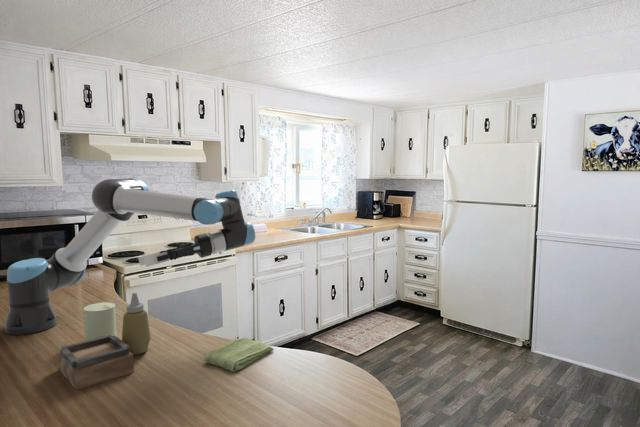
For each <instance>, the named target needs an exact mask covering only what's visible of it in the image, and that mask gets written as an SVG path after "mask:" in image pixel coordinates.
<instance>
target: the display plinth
mask: <svg viewBox="0 0 640 427" xmlns="http://www.w3.org/2000/svg"><path fill="white" fill-rule="evenodd" d="M116 336H117V335H116ZM116 336H111V335H107V336H103V337H100V338H96V339H92V340H88V341H85V340H84V341H81V342H76V343H71V344H68V345H65V346H61V349H60V348H59V351H57V356H58V360H57V361H58V371H60V373H61V374H62V375H63V377H65V379H66V381H68V382H69V383H70V384H71V385H72V387H73V388H74V389H75V391H80V390H83V389H87V388H88V387H91V386H95V385H97V384H101V383H103V382H106V381H107V382H108V381H110V380H113V379H116V378H119V377H123V376H126V375H128V374H132V373H135V369H134V367H135V366H134V363H135V362H134V355H133V354H132V353H131V352H130V351H129V346H128V345H127V344H126V343H124V342H123V341H122V339H120V338H119V337H116Z"/></svg>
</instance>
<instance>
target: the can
mask: <svg viewBox="0 0 640 427" xmlns="http://www.w3.org/2000/svg"><path fill="white" fill-rule="evenodd" d="M116 320H117V319H116V303H113V302H111V301H110V302H109V301H108V302H107V301H106V302H96V303H92V304H88V305H86V306H84V307H83V321H84V338H85V339H84V341H88V340H92V339H96V338H100V337H103V336H107V335H111V336H116V337H117V336H118V335H117V321H116ZM117 338H118V337H117Z"/></svg>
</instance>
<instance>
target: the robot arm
mask: <svg viewBox="0 0 640 427" xmlns="http://www.w3.org/2000/svg"><path fill="white" fill-rule="evenodd" d="M91 200H92V203H93V205H94V207H95V208H96V209H97V211H95V213H94V214H93V215H92V216H91V218H89V220H88V221H87V222H86V223H85V224H84V226H83V227H82V228H81V229H80V230H79V231H78V233H77V234H76V235H75V236H74V237H73V238H72V239H71V241H70V242H69V243H68V244H67V245H66V246H65V247H61V248H58V249H57V250H56V251H55V253H53V254H52V256H51V257H50V258H48V259H45V258H44V257H43V258H42V257H35V258H28V259H22V260H19V261H16V262H14V263H12V264H11V265H9V266H8V268H7V270H6V271H7V272H6V273H7V276H6V281H7V293H8V304H9V305H8V307H9V308H8V309H9V310H8V313H7V315H6V319H5V322H4V325H3V326H4V333H5V334H6V335H13V336H14V335H15V336H16V335H17V336H18V335H19V336H20V335H28V334H34V333H38V332H43V331H46V330H49V329H51V328H53V327H55V326H56V325H57V322H58V321H57V320H58V319H57V316H56V313H55V311H54V309H53V307H52V305H51V303H50V301H51V300H50V292H54V291H57V290H60V289H63V288H66V287H71V286H73V285H75V284H76V283H79V282H80V281H82V279H83V278H84V276H85V274H86V268H87V264H88V262H87V261H88V259H89V258H90V257H91V256H92V255H93V254H94V253H95V252H96V250H97V249H99V247H100V246H101V245H102V244H103V243H104V241H105V240H106V239H107V238H108V237H109V236H110V235H111V234H112V232H114V230H115V229H116V228H117V227H118V226H119V225H120V223H121V222H127V221H129V220H130V219H131V218H132V217H133V216H134V215H135V214H142V215H147V216H148V215H149V216H155V217H156V216H157V217H164V218H169V219H170V218H171V219H179V220H187V221H194V222H198V223H200V224H202V225H215V224H218V223H220V222H221V227H222V228H221V229H215V230H212V231H208V232H207V233H200V234H196V235H195V236H194V239H193V241H194V243H193V244H192V242H187V243H184V244H181V245H178V246H177V247H175V248H174V247H173V248H168V249H166V250H165V249H164V250H161V251H157V252H155V253H149V254H147V255H143V256H142V255H141V256H139V257H138V258H137V259H138V263H139V266H144V265H145V268H148V267H151V266H155V265H159V264H163V263H165V262H166V263H167V262H169V261H173V260H177V259H180V258H185V257H191V256H194V255H195V254H197V255H198V257H199V258H201V259H202V258H206V257H209V256H212V254H213V255H215V254H216V255H217V254H218V255H222V254H223V252H226V251H227V252H228V251H230V250H234V249H238V248H242V247H245V246H248V245H250V244H253V243H254V242H255V240H256V232H255V229H254V225H253V224H252V223H251V222H249V221H248V222H247V221H245V219H244V214H243V211H242V210H243V209H242V206H241V202H240V201H241V200H240V198H239V195H238V192H237V191H236V190H235V189H233V190H232V189H231V190H225V191H222V192H218V193H216V195H215V198H206V197H198V196H192V195H191V196H189V195H181V194H174V193H167V192H157V191H151V190H150V189H149V186H148V185H147V184H146V183H145V182H144V181H143V180H140V179H138V178H108V179H104V180H101V181H99V182H98V183H97V184H96V185H95V186H94V187H93V189H92V192H91Z"/></svg>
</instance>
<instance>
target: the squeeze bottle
mask: <svg viewBox="0 0 640 427" xmlns="http://www.w3.org/2000/svg"><path fill="white" fill-rule="evenodd" d="M144 309H145V308H144V304H143V303H142V302H141V303H140V300H139V295H138V292H132V294H131V299H130V303H129V304H128V305H126V312H124V314H123V320H122V334H121V340H122V341H123V342H124V343H126V344H127V345H128V346H129V351H130V352H131V353H132V354H133V356H134V355H136V356H137V355H141V354H143V353H145V352H147V351H148V348H149V345H150V341H151V338H152V337H151V336H152V334H151V329H150V324H149V323H150V322H149V316H148V311H146V310H144Z"/></svg>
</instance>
